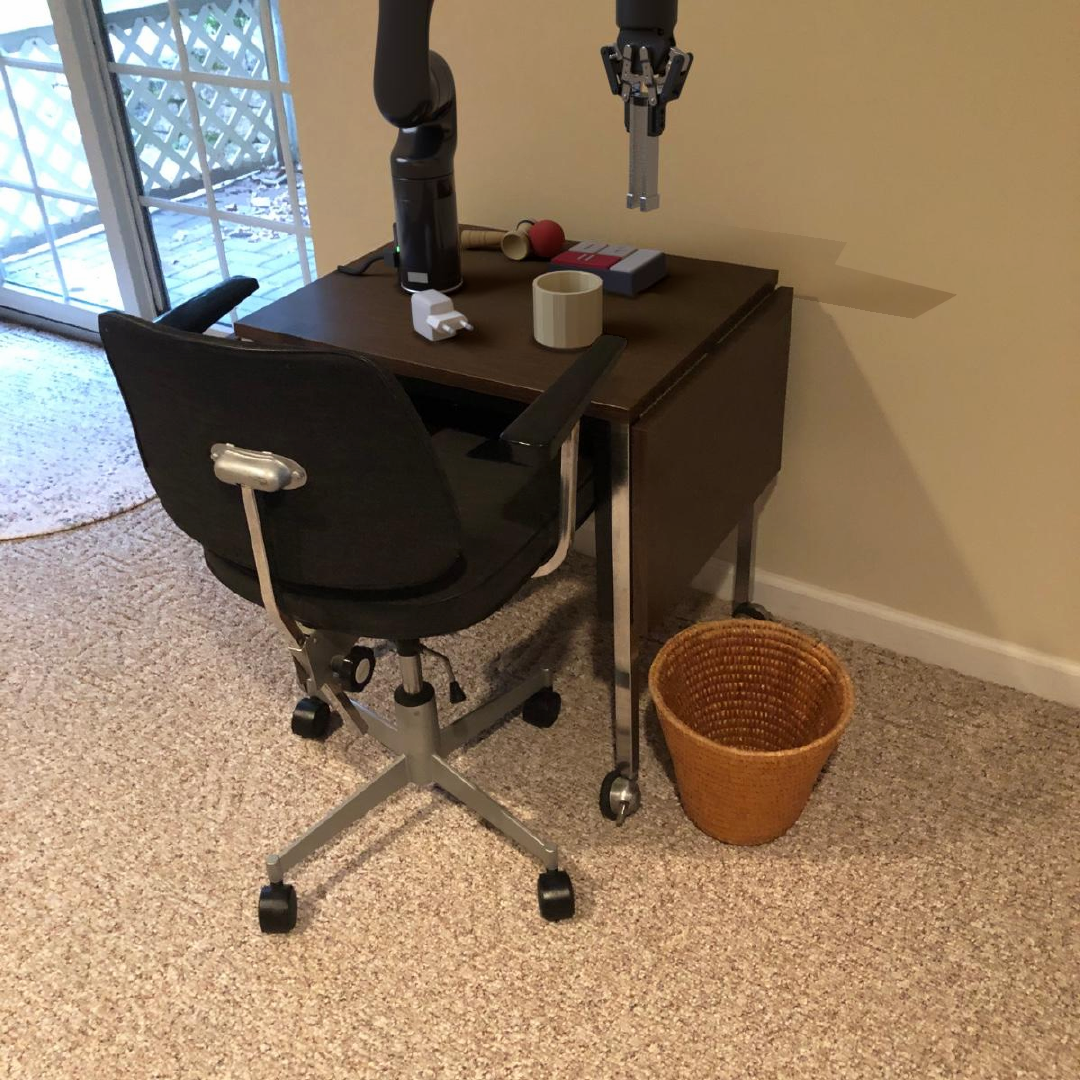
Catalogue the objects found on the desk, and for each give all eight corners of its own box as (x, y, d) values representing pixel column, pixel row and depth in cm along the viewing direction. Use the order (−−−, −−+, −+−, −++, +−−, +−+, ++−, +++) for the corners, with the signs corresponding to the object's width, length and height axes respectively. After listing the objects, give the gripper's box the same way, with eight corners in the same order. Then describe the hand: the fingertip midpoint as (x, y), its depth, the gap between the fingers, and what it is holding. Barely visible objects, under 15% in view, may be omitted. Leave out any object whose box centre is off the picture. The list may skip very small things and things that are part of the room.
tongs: (626, 207, 143) (627, 94, 135) (640, 203, 145) (642, 91, 137) (645, 212, 141) (648, 97, 133) (659, 207, 143) (662, 94, 135)
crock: (520, 340, 146) (518, 283, 142) (567, 320, 152) (567, 265, 147) (569, 358, 141) (568, 299, 136) (616, 337, 146) (617, 280, 142)
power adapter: (480, 350, 144) (478, 308, 140) (449, 359, 141) (446, 317, 138) (439, 325, 151) (436, 285, 148) (409, 333, 149) (405, 293, 146)
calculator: (581, 238, 171) (666, 247, 164) (583, 265, 173) (666, 275, 166) (545, 258, 163) (632, 268, 156) (547, 286, 165) (633, 297, 158)
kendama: (455, 264, 177) (555, 260, 170) (451, 224, 175) (551, 219, 168) (476, 258, 184) (573, 254, 176) (472, 220, 182) (570, 214, 174)
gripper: (713, -17, 126) (705, 136, 136) (624, -23, 135) (623, 121, 144) (672, -11, 122) (667, 147, 131) (583, -17, 131) (584, 131, 140)
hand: (644, 133), depth 138 cm, fingers closed on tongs, 3 cm apart
